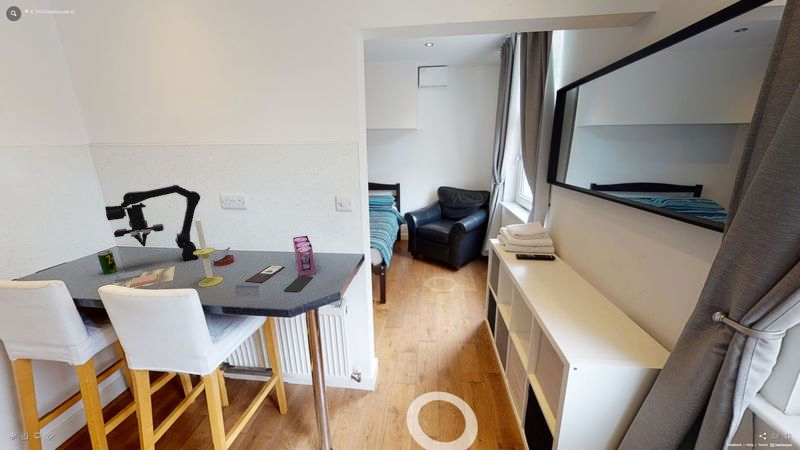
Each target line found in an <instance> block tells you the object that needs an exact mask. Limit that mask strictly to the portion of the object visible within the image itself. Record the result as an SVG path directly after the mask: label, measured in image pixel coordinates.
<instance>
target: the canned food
mask: <svg viewBox="0 0 800 450" xmlns="http://www.w3.org/2000/svg"><path fill="white" fill-rule="evenodd" d="M230 249H231V247H229V246H228V247H227V248H226V249H224V250H222V251H220V253H218V254H217V255H215V256H214V257H213V259H212V262H213V266H214V267H224V266H225V267H226V266H229V265H231V264H233V263H235V257H234V255H233V254H229V251H230Z"/></svg>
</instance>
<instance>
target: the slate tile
mask: <svg viewBox="0 0 800 450" xmlns="http://www.w3.org/2000/svg"><path fill="white" fill-rule="evenodd" d="M143 272H144V271H143V269H139V270H135V271H129V272H124V273H123V272H122V273H120V274H119V273H118V274H117V276H116V277H115V278H114V282H115V284H117V283H121V282H126V281H131V280H133V278H138V277H142V275H143Z"/></svg>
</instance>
